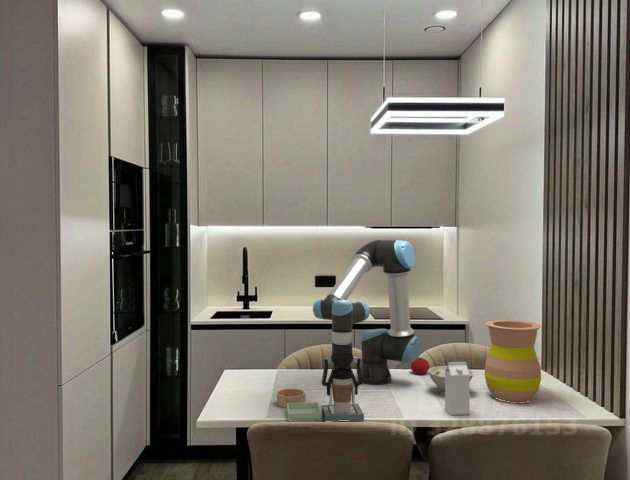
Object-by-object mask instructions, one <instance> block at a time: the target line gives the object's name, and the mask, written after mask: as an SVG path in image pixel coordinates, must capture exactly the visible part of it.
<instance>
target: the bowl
mask: <svg viewBox="0 0 630 480" xmlns="http://www.w3.org/2000/svg"><path fill="white" fill-rule="evenodd" d="M447 366H448V365H443V366H442V365H441V366H438V365H437V366H433V367H429V369H428V371H427V374H428V375H429V377H430V380H431V381H432V382H433V383H434V384H435V386H437V387H438V388H439V389H441V391H442V392H441V393H442V394H443V395H445V370H446V368H447ZM468 371H469V374H470V382H471V380H472V379H473V377H474V371H473V370H471V369H468Z"/></svg>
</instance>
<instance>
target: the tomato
mask: <svg viewBox="0 0 630 480" xmlns="http://www.w3.org/2000/svg"><path fill="white" fill-rule="evenodd" d="M429 368H430V363H429V362H428V360H427V359H425V358H423V357H417V358H416V359H415V361H413V362H411V363H410V369H411V370H412V372H413V373H414V374H417V375H424V374H426V373H428V369H429Z"/></svg>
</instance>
